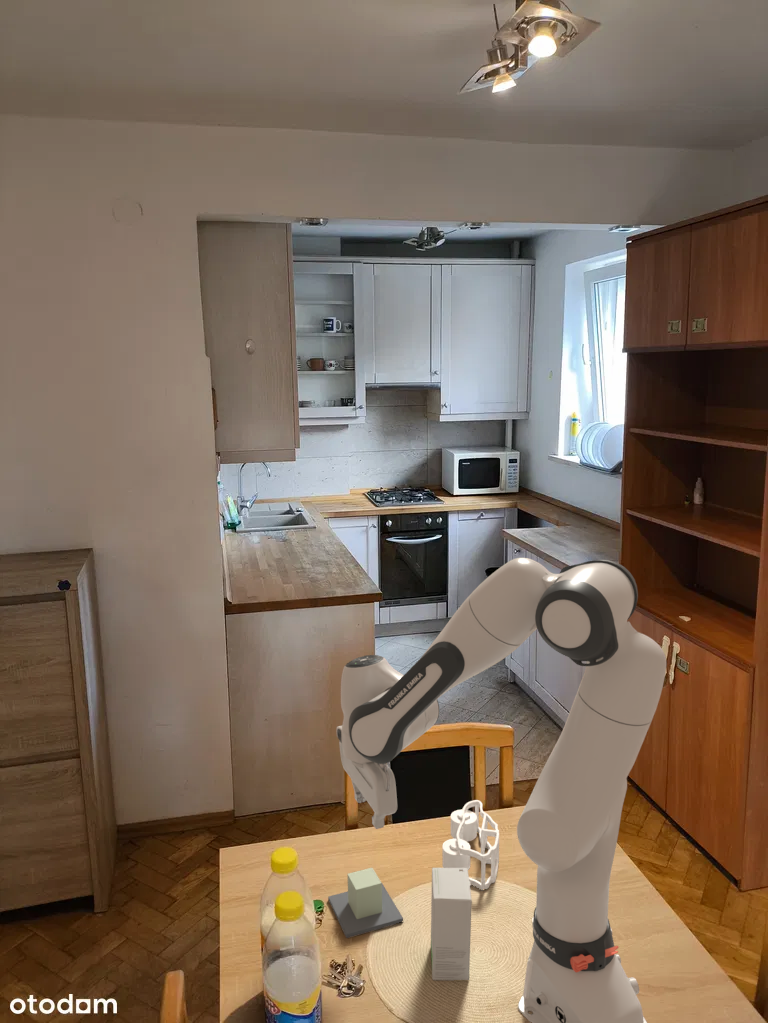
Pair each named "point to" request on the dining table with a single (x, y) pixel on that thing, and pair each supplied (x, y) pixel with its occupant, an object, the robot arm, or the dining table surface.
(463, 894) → the skincare box
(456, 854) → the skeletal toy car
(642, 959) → the dining table surface
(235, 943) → the dining table surface
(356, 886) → the sage block
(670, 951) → the dining table surface
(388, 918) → the slate mat
